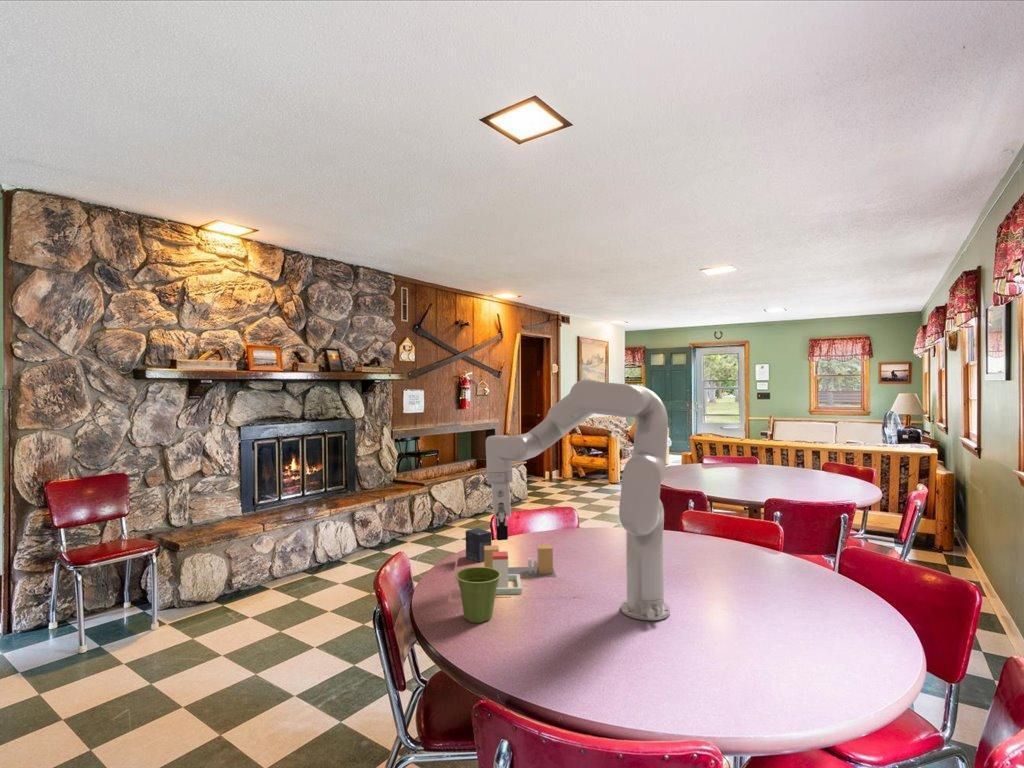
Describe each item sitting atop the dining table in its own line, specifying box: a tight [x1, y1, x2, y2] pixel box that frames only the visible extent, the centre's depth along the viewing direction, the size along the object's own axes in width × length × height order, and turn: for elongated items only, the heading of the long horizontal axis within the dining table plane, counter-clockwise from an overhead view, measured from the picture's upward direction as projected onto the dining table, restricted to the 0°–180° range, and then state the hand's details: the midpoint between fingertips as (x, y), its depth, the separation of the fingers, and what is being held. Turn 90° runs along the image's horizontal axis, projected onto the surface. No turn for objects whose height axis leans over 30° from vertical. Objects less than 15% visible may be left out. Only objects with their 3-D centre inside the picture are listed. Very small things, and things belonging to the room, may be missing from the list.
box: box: [465, 527, 492, 564], centre depth 184 cm, size 8×6×11 cm
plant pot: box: [455, 566, 501, 624], centre depth 138 cm, size 12×12×11 cm
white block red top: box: [492, 550, 509, 588], centre depth 158 cm, size 4×4×10 cm
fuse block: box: [483, 543, 557, 579], centre depth 170 cm, size 10×23×9 cm, turn 92°
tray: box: [495, 574, 523, 599], centre depth 157 cm, size 12×12×2 cm
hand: (502, 535), depth 157 cm, fingers open, 9 cm apart
